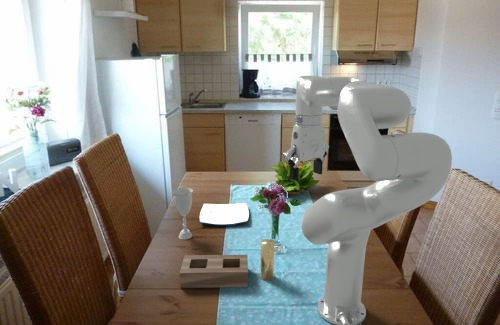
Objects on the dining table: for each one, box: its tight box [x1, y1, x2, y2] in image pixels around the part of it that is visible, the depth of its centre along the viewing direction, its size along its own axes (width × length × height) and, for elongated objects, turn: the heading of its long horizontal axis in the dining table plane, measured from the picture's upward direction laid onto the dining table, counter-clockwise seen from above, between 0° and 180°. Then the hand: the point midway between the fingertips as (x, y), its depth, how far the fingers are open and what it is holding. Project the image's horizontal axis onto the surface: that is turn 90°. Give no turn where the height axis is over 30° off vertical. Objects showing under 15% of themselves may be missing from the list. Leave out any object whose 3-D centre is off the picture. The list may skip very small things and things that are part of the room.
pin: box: [260, 238, 275, 282], centre depth 121 cm, size 4×4×12 cm
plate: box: [199, 202, 250, 227], centre depth 165 cm, size 20×20×3 cm
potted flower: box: [270, 160, 320, 195], centre depth 193 cm, size 25×24×18 cm
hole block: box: [179, 254, 249, 289], centre depth 122 cm, size 10×20×5 cm, turn 91°
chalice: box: [172, 187, 194, 240], centre depth 146 cm, size 7×7×18 cm
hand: (306, 176), depth 119 cm, fingers open, 9 cm apart
